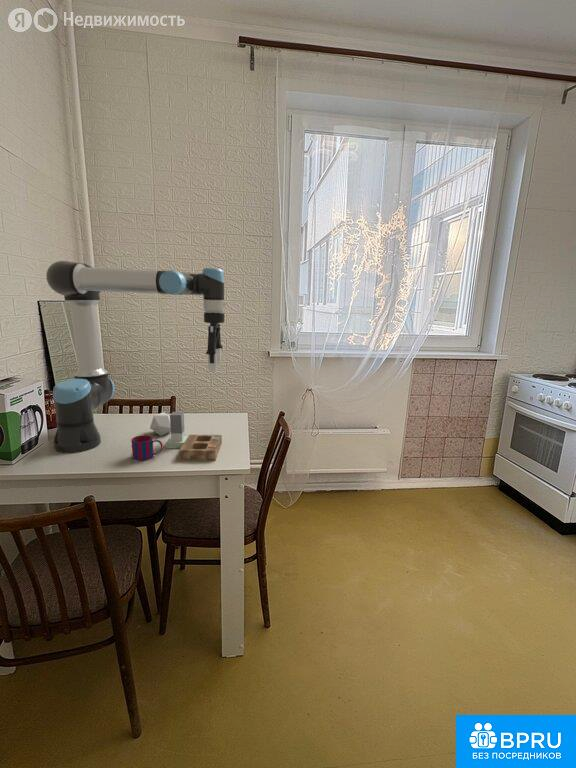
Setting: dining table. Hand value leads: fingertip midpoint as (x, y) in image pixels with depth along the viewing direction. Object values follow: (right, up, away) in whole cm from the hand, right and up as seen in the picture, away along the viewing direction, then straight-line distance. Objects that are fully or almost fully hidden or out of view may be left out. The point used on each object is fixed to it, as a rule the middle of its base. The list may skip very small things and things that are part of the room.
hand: (215, 368), depth 146 cm
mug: (-20, -31, -15) cm, 40 cm away
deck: (-13, -28, -3) cm, 31 cm away
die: (-22, -26, +7) cm, 35 cm away
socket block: (-3, -30, -9) cm, 32 cm away
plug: (-13, -26, -4) cm, 30 cm away
